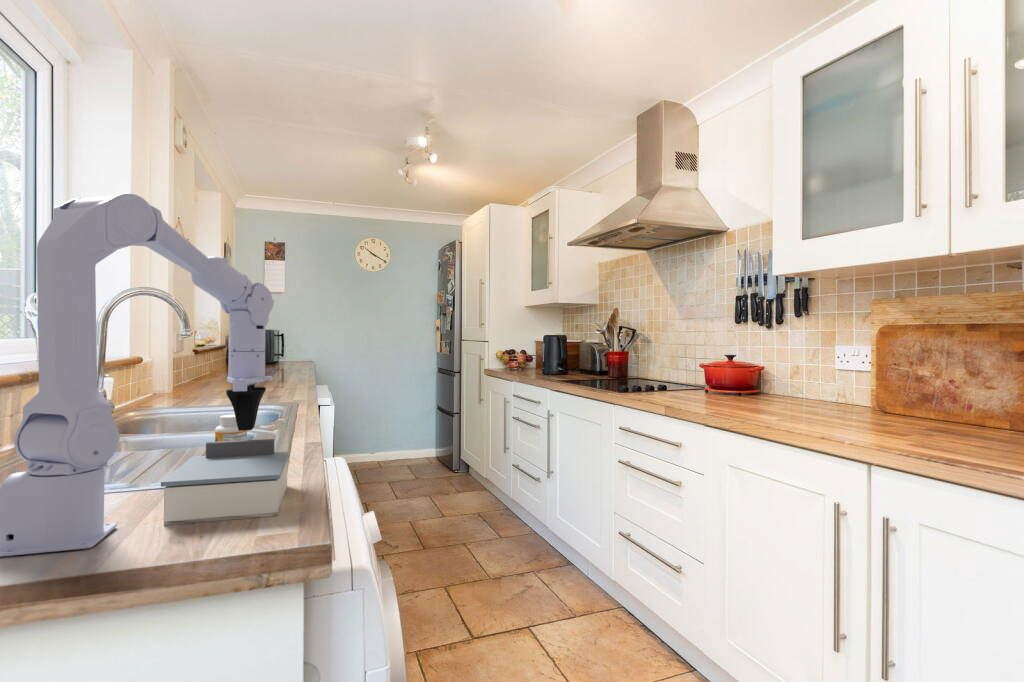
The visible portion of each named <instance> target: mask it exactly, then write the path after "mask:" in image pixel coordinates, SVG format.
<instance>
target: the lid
mask: <svg viewBox="0 0 1024 682" xmlns="http://www.w3.org/2000/svg"><path fill="white" fill-rule="evenodd" d="M275 440H276V439H275V438H271V439H270V438H269V439H266V438H265V439H247V440H241V441H219V442H215V441H207V442H205V455H194V456H192V457H190V458H189V459H188V460H186V461H185V462H184V463H183V464H182V465H180V466H179V467H178V468H177V469H175V470H174V471H173V472H172V473H170V474H169V475H168V476H167V477H165V478H164V479H163V480H161V482H160V488H161V487H162V488H163V487H164V488H165V487H166V486H179V485H194V484H209V483H224V482H239V481H254V480H269V479H280V477H281V474H282V472H283V469H284V467H285V465H286V462H287V463H288V460H289V457H290V451H289V450H288V451H275Z"/></svg>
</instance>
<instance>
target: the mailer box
mask: <svg viewBox="0 0 1024 682" xmlns="http://www.w3.org/2000/svg"><path fill="white" fill-rule="evenodd" d="M287 488H288V461H287V462H286V465H285V467H284V469H283V472H282V474H281V477H280V479H269V480H254V481H239V482H224V483H209V484H194V485H179V486H164V488H163V526H170V525H171V526H173V525H174V526H175V525H185V524H195V523H209V522H217V521H218V522H220V521H229V520H230V521H231V520H241V519H253V518H264V517H277V516H278V514H279V511H280V508H281V505H282V502H283V499H284V497H285V494H286V490H287Z"/></svg>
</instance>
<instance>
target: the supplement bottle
mask: <svg viewBox="0 0 1024 682" xmlns="http://www.w3.org/2000/svg"><path fill="white" fill-rule="evenodd" d="M214 439H215V440H214V442H219V441H241V440H248V430H244V431H239V430H238V427H237V422H236V417H235V414H225V415H220V416H219V425H218V426H216V427H215V429H214Z"/></svg>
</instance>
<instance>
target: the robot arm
mask: <svg viewBox="0 0 1024 682" xmlns="http://www.w3.org/2000/svg"><path fill="white" fill-rule="evenodd" d="M52 213H53V214H52V215H53V217H52V218H53V219H52V220H51V222H50V223H49V224H48V226H47V228H46V229H45V231H44V232H43V234H42V235H41V237H40V238H39V240H38V242H37V246H36V271H37V272H36V277H37V278H36V281H37V284H36V285H37V336H38V337H37V339H38V340H37V341H38V351H37V352H38V392H37V393H36V394H35V395H34V396H32V398H31V399H30V400H29V401H28V402H26V403H25V404H24V406H23V408H22V419H21V423H20V425H19V427H18V428H17V430H16V432H15V434H14V437H13V438H14V439H13V445H14V449H15V452H16V453H17V455H18V456H19V457H20V458H22V459H23V460H24V461H26V470H27V471H17V472H13V473H11V474H9V475H8V476H7V477H6V478H5V479H4V480H3V481H2V483H1V486H0V557H9V556H10V557H11V556H20V555H31V554H41V553H52V552H61V551H72V550H74V551H75V550H81V549H82V550H83V549H91V548H93V547H94V546H95V545H97V544H98V543H99V542H100V541H101V540H103V539H104V538H105V537H106V536H107V535H108V534H110V533H111V532H112V531H113V530H114V529H116V528H117V526H118V524H117V523H116V522H112V523H105V468H107V467H108V461H109V460H110V459H111V458H112V457H113V456H114V455H115V453H116V451H117V449H118V447H119V445H120V431H119V427H118V426H117V424H116V423H115V421H114V419H113V415H112V404H111V403H110V402H109V401H108V400H107V399H106V398H105V395H103V394H102V393H101V392H100V391H99V389H98V369H97V368H98V366H97V365H98V362H97V361H98V360H97V359H98V357H97V356H98V355H97V354H98V353H97V296H96V295H97V292H96V291H97V289H96V288H97V287H96V266H97V264H98V263H100V262H101V261H103V260H104V259H106V258H108V257H109V256H110V255H112V254H113V253H115V252H117V251H118V250H120V249H124V248H128V247H132V246H133V247H136V246H137V247H145V248H148V249H149V250H152V251H153V252H155V253H157V254H159V256H162V257H163V258H164V259H166V260H168V261H170V262H172V263H173V264H175V265H177V266H178V267H180V268H182V269H184V270H185V271H186V272H188V273H190V275H191V276H190V277H191V281H192V283H193V285H194V286H196V287H197V288H199V289H201V290H202V291H204V292H206V293H207V294H208V295H210V296H211V297H213V298H215V299H216V300H217V301H219V304H220V306H221V308H222V310H223V312H224V313H225V314H228V366H227V367H228V370H227V372H228V376H227V377H226V382H227V383H230V384H232V388H230V389H229V388H228V389H227V390H225V391H226V392H225V394H226V396H227V398H228V399H229V401H230V403H231V405H232V408H233V413H234V415H235V417H236V422H237V427H238V430H239V431H244V430H247V431H252V430H253V429H254V428H255V425H256V420H257V417H258V411H259V407H260V404H261V401H262V399H263V396H264V394H265V393H266V390H267V388H266V386H257V385H259V384H260V383H262V382H266V381H267V382H268V381H269V382H270V381H272V380H273V376H272V375H266V327H267V326H268V323H269V318H270V314H271V312H272V309H273V308H274V303H275V300H274V299H273V296H272V292H271V291H270V289H269V288H268V287H267V286H265V285H264V284H263V283H261V282H253V281H252V280H250V279H249V276H248V275H246V274H245V273H241V272H240V271H238V270H237V269H236V268H234V267H233V266H232V265H231V264H230V263H229V262H230V261H229V259H227V258H226V257H225V256H218V255H209V256H206V255H205V253H203V252H202V251H200V250H199V249H198V248H197V247H196V246H195V245H193V244H192V243H191V242H190V241H189V240H188V239H186V238H185V236H183V235H182V234H181V233H179V232H178V231H177V230H176V229H174V228H173V227H172V226H171V225H170V224H168V222H166V221H165V220H164V218H163V215H162V212H161V210H160V209H159V208H156V207H155V206H153V205H151V204H150V203H149V202H148V201H147V200H146V199H144V198H143V197H142V196H140V195H137V194H135V193H129V192H123V193H120V194H116V195H115V194H114V195H106V196H105V195H104V196H96V197H75V198H72V199H70V200H67V201H66V202H64V203H63V202H62V203H61V204H59V205H56V206H55V207H54V208H53V210H52Z"/></svg>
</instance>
